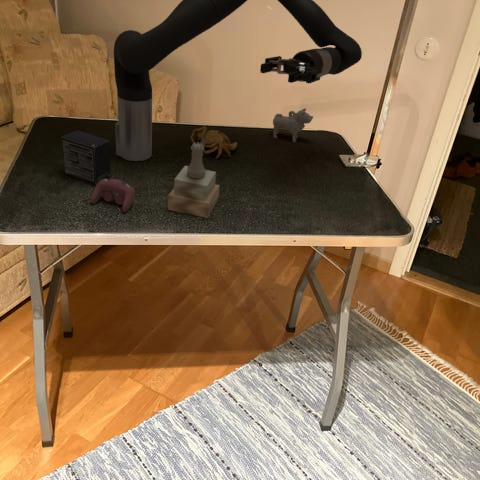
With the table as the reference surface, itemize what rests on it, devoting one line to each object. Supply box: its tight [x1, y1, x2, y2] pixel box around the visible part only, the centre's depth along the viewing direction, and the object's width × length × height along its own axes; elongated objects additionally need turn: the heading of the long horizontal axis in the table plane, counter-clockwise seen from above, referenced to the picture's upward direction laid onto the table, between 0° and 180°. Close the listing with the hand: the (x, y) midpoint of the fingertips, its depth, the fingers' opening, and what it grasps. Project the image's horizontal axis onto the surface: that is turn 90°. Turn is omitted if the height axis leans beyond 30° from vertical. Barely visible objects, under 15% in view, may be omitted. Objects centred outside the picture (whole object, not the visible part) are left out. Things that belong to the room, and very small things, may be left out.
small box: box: [60, 130, 112, 186], centre depth 127 cm, size 11×6×10 cm, turn 65°
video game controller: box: [90, 178, 136, 213], centre depth 118 cm, size 10×5×7 cm, turn 73°
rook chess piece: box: [187, 141, 206, 179], centre depth 117 cm, size 4×4×8 cm
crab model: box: [190, 125, 238, 160], centre depth 151 cm, size 16×13×6 cm
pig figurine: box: [272, 107, 314, 143], centre depth 163 cm, size 5×13×11 cm, turn 75°
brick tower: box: [167, 165, 221, 219], centre depth 121 cm, size 10×10×8 cm
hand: (275, 73), depth 120 cm, fingers open, 8 cm apart
